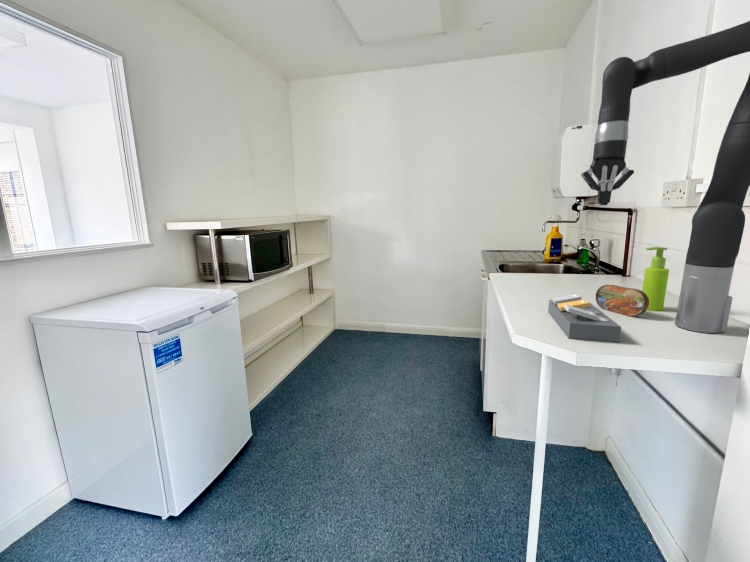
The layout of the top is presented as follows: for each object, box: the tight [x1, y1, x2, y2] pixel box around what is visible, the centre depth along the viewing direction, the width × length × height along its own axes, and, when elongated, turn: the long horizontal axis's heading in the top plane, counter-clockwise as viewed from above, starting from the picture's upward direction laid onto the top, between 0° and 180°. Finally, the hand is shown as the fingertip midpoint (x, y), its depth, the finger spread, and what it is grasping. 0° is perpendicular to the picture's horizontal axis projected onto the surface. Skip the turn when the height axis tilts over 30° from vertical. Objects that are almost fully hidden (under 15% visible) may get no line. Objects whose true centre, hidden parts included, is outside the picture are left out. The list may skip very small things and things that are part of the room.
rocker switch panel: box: [547, 299, 622, 343], centre depth 95 cm, size 11×24×5 cm, turn 165°
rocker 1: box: [551, 293, 583, 305], centre depth 102 cm, size 7×4×1 cm, turn 75°
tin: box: [595, 284, 649, 317], centre depth 107 cm, size 15×3×8 cm, turn 20°
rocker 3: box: [564, 304, 598, 320], centre depth 89 cm, size 7×4×1 cm, turn 75°
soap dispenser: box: [641, 246, 670, 312], centre depth 109 cm, size 6×7×20 cm
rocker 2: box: [557, 299, 590, 311], centre depth 95 cm, size 7×4×1 cm, turn 75°
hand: (603, 205), depth 98 cm, fingers closed
